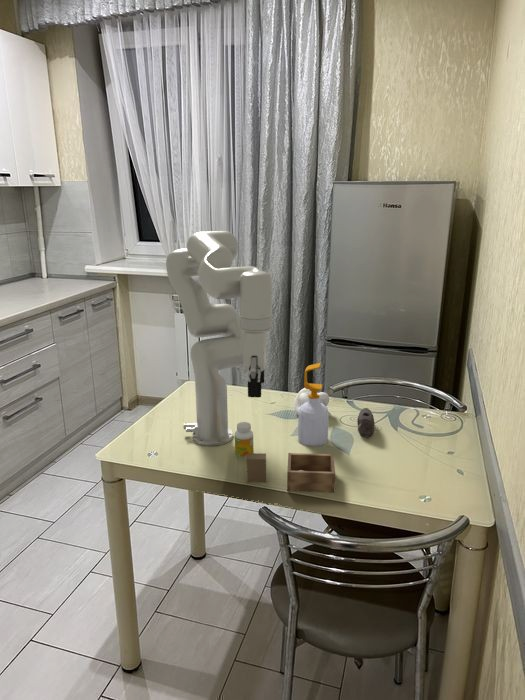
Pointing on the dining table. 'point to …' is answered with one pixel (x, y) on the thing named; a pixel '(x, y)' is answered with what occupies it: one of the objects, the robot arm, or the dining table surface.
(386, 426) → the dining table surface
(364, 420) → the perforated stone tool
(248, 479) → the lid
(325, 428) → the soap bottle
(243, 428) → the supplement bottle
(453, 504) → the dining table surface
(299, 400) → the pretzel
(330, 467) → the box
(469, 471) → the dining table surface
